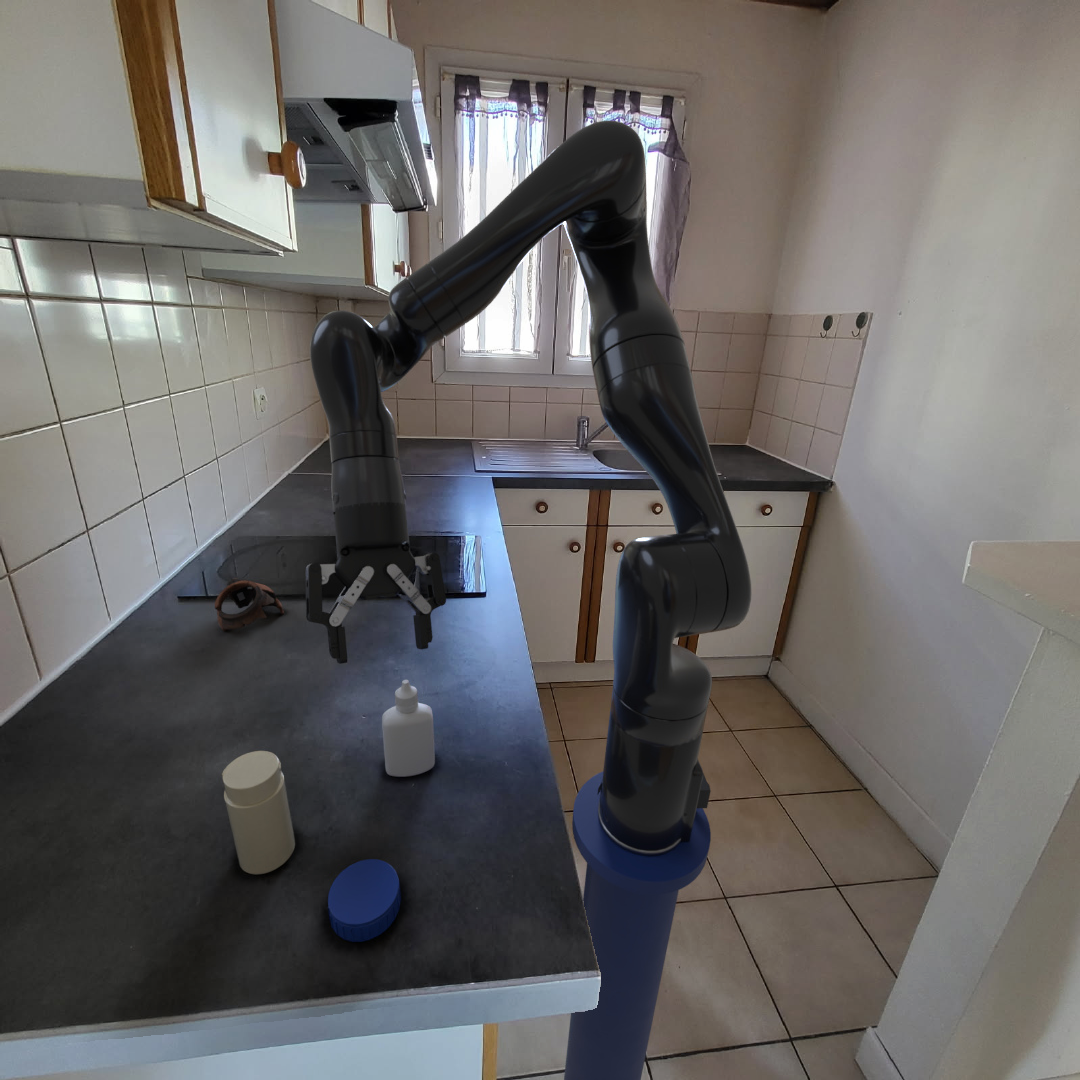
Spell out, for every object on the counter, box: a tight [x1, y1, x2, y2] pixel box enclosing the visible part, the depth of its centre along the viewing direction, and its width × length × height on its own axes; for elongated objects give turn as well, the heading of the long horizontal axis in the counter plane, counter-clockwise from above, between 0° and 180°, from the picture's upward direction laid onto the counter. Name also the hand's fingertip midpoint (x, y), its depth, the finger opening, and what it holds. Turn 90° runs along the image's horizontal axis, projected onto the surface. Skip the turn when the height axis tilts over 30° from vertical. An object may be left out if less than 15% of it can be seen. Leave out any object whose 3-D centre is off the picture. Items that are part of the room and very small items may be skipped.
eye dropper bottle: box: [381, 679, 436, 778], centre depth 63 cm, size 4×6×12 cm
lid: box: [327, 858, 402, 943], centre depth 49 cm, size 6×6×2 cm
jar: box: [221, 750, 296, 875], centre depth 53 cm, size 5×5×10 cm
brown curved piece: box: [214, 577, 285, 632], centre depth 93 cm, size 12×10×8 cm
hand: (383, 655), depth 59 cm, fingers open, 8 cm apart
